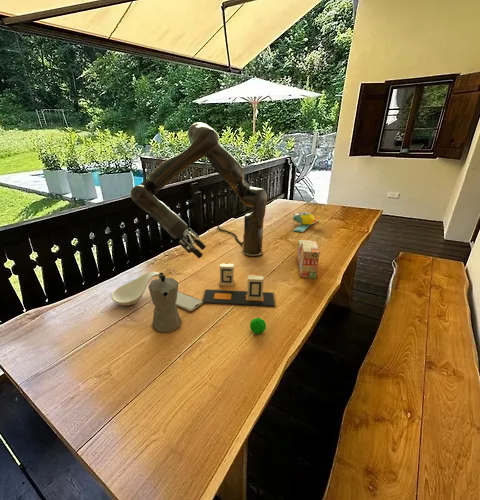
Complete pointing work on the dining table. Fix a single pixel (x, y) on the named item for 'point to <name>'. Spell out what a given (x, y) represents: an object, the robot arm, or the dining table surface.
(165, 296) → the coffeepot
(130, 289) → the spoon rest
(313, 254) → the stack of blocks
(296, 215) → the toy airplane
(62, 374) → the dining table surface
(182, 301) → the smartphone
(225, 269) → the cream oblong block
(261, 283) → the upright beige pillar
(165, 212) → the robot arm
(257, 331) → the polyhedron
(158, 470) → the dining table surface
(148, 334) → the dining table surface
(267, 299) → the word mat
